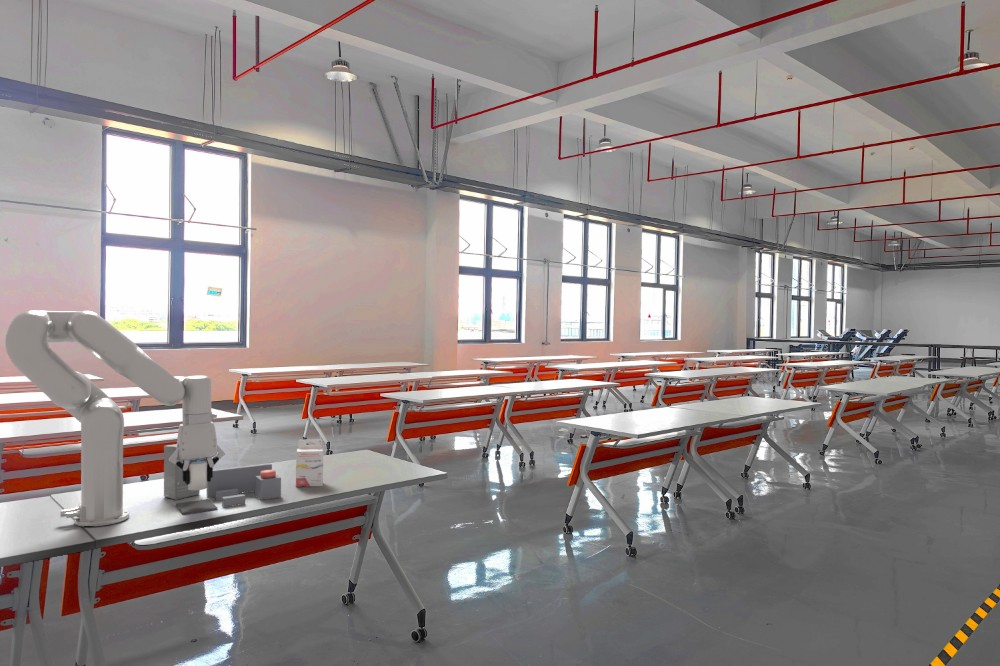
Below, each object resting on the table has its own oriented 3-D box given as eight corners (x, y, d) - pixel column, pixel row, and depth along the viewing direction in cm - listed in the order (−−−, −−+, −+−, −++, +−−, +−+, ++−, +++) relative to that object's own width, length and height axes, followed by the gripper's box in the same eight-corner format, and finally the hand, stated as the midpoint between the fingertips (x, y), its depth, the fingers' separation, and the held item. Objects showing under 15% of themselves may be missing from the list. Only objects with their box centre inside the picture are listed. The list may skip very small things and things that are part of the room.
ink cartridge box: (295, 487, 210) (296, 442, 210) (296, 483, 215) (296, 439, 215) (323, 486, 212) (323, 441, 212) (323, 482, 217) (323, 438, 217)
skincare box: (175, 500, 193) (176, 447, 193) (161, 497, 197) (162, 445, 196) (201, 494, 200) (202, 443, 200) (187, 491, 204) (188, 440, 204)
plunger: (262, 493, 196) (262, 473, 196) (258, 490, 199) (258, 471, 199) (277, 491, 198) (277, 472, 198) (273, 488, 202) (273, 469, 202)
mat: (182, 514, 179) (182, 512, 179) (175, 505, 188) (175, 503, 188) (217, 509, 184) (217, 507, 184) (208, 500, 193) (208, 498, 193)
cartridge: (190, 491, 183) (189, 461, 182) (186, 487, 187) (186, 458, 186) (209, 488, 185) (208, 459, 185) (205, 484, 190) (205, 456, 189)
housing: (218, 508, 186) (218, 480, 186) (206, 496, 198) (206, 470, 198) (284, 498, 197) (284, 472, 197) (269, 487, 209) (270, 463, 209)
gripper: (225, 414, 194) (225, 475, 194) (161, 420, 184) (162, 483, 184) (231, 418, 188) (232, 480, 188) (166, 423, 178) (167, 489, 178)
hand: (197, 481), depth 186 cm, fingers closed on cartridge, 5 cm apart
